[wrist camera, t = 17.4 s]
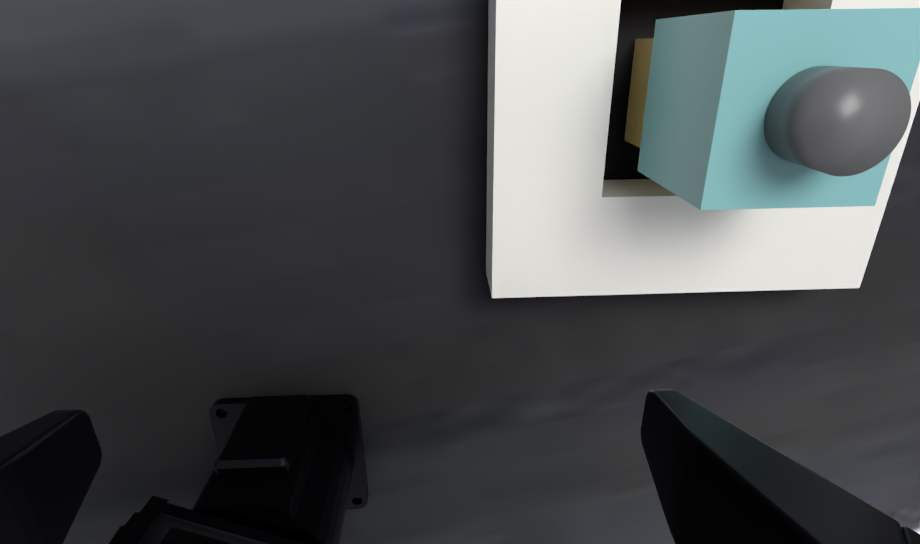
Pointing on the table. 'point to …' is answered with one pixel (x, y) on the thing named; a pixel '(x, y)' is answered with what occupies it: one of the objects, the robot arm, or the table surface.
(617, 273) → the socket plate
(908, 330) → the table surface
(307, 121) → the table surface
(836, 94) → the plug
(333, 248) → the table surface
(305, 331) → the table surface
